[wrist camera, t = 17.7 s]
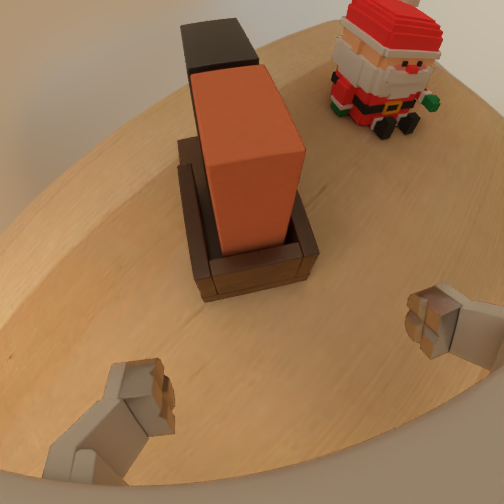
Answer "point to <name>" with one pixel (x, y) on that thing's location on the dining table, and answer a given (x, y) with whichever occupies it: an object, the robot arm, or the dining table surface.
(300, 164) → the orange rectangular block
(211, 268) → the mount
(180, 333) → the dining table surface
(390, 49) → the figurine
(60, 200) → the dining table surface
